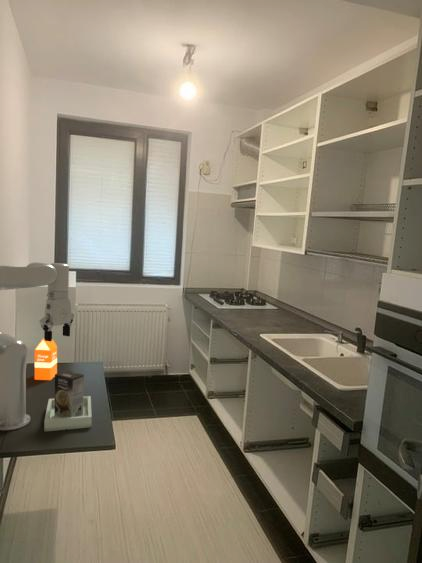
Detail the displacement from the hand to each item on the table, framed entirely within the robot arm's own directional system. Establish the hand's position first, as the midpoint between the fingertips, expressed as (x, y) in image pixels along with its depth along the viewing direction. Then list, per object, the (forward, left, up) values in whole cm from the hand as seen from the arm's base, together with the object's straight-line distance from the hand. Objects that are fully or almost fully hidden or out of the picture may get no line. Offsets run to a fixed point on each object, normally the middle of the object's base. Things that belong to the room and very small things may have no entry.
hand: (57, 338), depth 159 cm
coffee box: (-4, -9, -28) cm, 30 cm away
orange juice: (+29, +29, -29) cm, 51 cm away
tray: (-4, -9, -29) cm, 31 cm away
